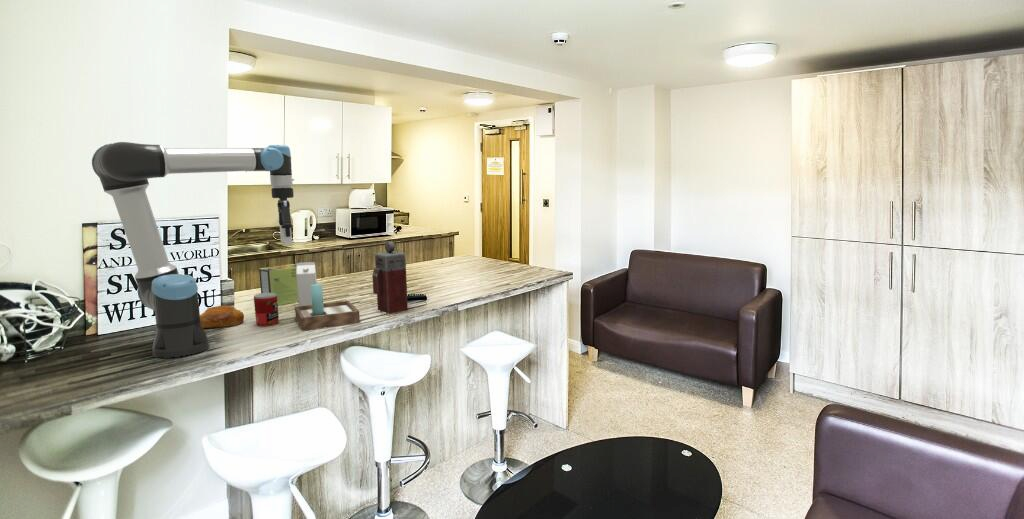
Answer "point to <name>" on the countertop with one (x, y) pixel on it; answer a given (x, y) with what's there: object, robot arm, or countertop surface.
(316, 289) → the peg
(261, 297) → the canned food
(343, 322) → the box
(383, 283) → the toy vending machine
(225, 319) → the croissant
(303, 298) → the milk carton
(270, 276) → the protein box
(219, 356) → the countertop surface
